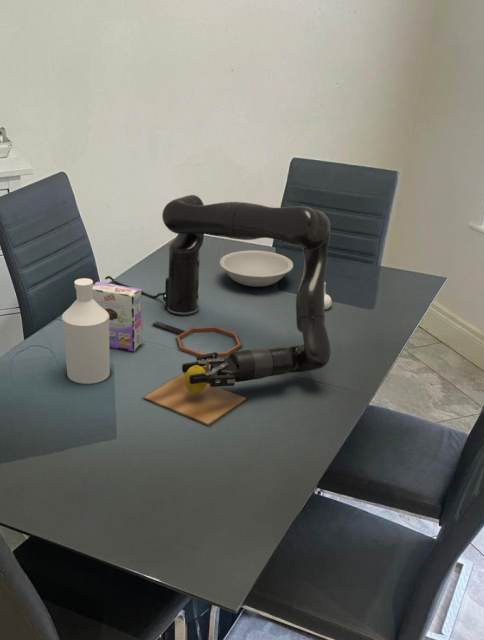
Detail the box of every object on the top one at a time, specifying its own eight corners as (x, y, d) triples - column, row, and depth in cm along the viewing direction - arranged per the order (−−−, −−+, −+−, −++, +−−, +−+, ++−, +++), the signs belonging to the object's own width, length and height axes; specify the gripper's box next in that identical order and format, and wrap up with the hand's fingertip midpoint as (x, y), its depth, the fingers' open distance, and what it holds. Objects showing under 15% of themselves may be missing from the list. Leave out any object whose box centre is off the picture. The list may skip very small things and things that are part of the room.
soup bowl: (241, 264, 259) (242, 245, 255) (303, 279, 248) (306, 259, 244) (204, 285, 244) (205, 265, 240) (269, 302, 233) (271, 282, 229)
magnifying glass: (136, 334, 215) (136, 331, 215) (172, 315, 226) (172, 312, 225) (215, 363, 201) (215, 359, 200) (250, 341, 211) (250, 338, 211)
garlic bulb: (329, 303, 233) (333, 278, 228) (331, 311, 228) (335, 286, 223) (309, 302, 233) (313, 277, 228) (311, 310, 228) (314, 285, 223)
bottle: (60, 367, 199) (53, 277, 183) (101, 359, 203) (97, 270, 187) (74, 387, 190) (68, 294, 175) (117, 379, 194) (115, 286, 178)
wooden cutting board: (143, 399, 186) (143, 396, 186) (182, 375, 196) (182, 373, 195) (208, 425, 176) (208, 423, 176) (245, 399, 186) (245, 397, 185)
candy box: (142, 344, 210) (142, 288, 200) (133, 352, 206) (133, 295, 196) (99, 335, 215) (97, 280, 204) (90, 343, 211) (87, 287, 200)
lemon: (205, 400, 182) (206, 371, 177) (182, 398, 183) (183, 369, 178) (208, 389, 186) (209, 361, 182) (186, 387, 187) (187, 359, 182)
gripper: (241, 338, 187) (177, 347, 184) (263, 364, 176) (195, 373, 173) (239, 365, 192) (177, 374, 188) (260, 391, 181) (194, 401, 177)
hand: (186, 374), depth 181 cm, fingers closed on lemon, 5 cm apart
